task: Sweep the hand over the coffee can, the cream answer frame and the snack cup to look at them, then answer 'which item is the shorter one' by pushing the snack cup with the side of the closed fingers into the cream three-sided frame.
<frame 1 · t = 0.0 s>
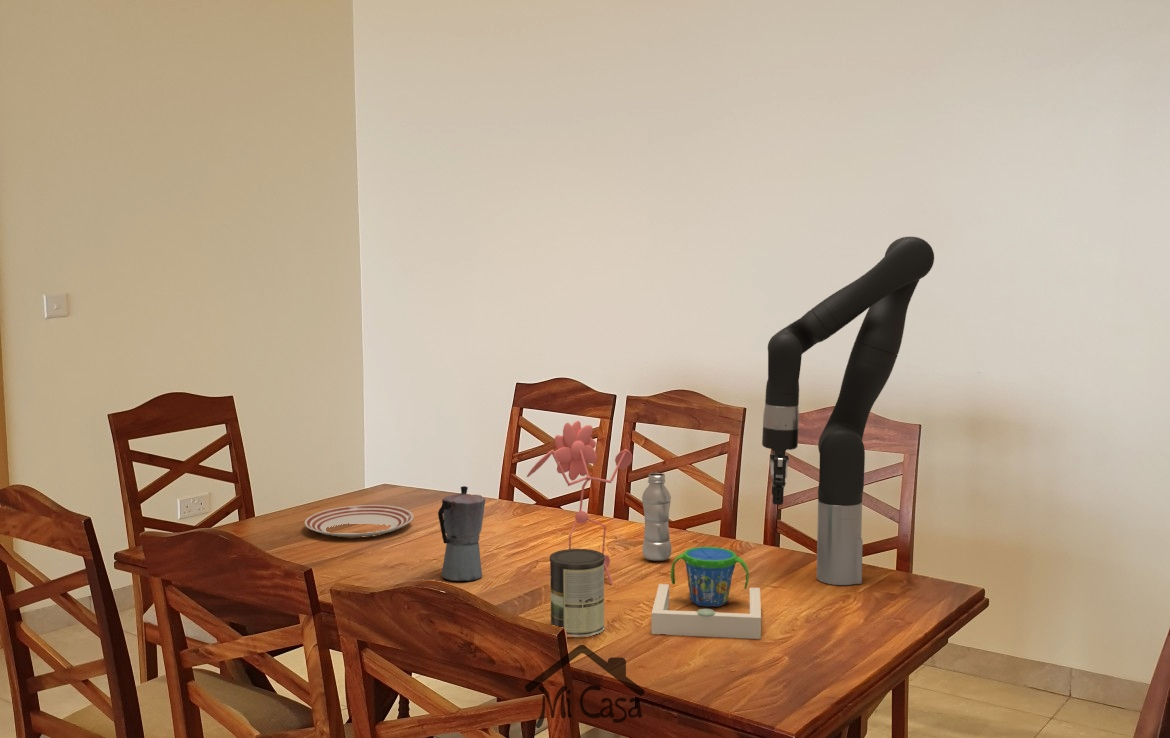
hand: (777, 499, 236), 17 cm above the table, tool pointing down, fingers open, 8 cm apart
answer frame: (707, 620, 210), on the table
moka pot: (462, 578, 239), on the table
figurine: (575, 582, 235), on the table
dinner plate: (359, 530, 281), on the table
coffee can: (577, 630, 206), on the table
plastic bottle: (656, 560, 251), on the table
snack cup: (709, 603, 221), on the table
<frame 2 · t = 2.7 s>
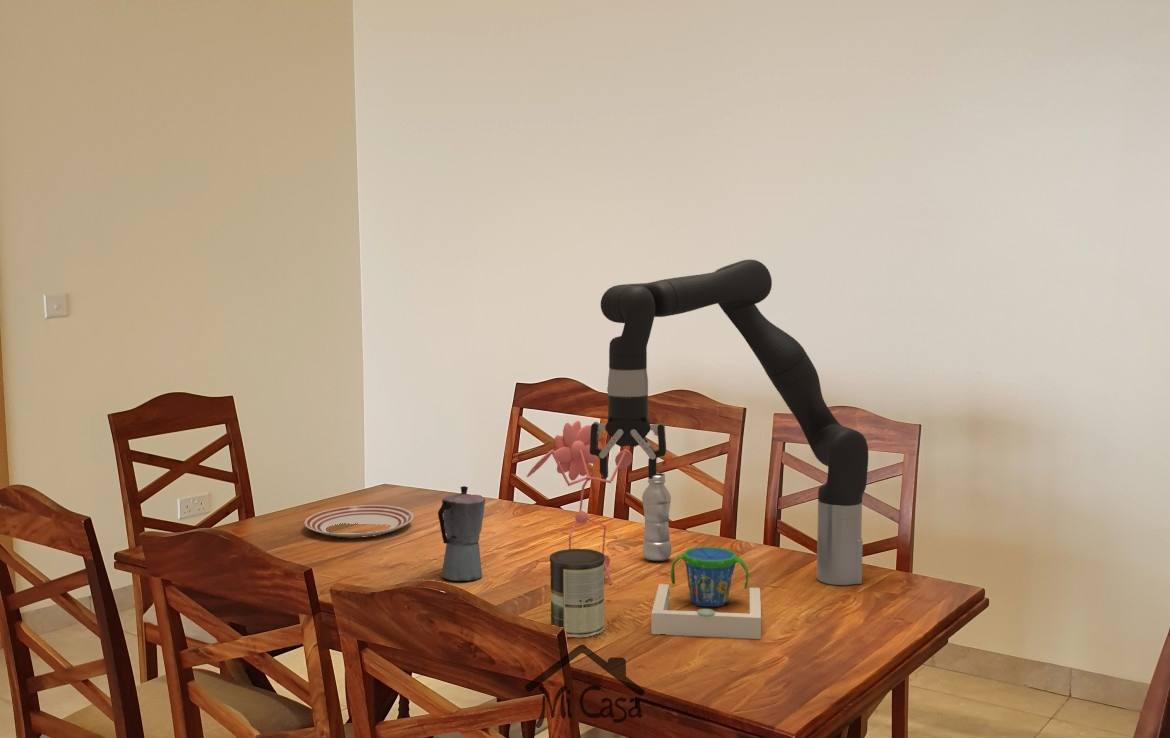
hand: (628, 477, 206), 28 cm above the table, tool pointing down, fingers open, 8 cm apart
nothing on the table moved.
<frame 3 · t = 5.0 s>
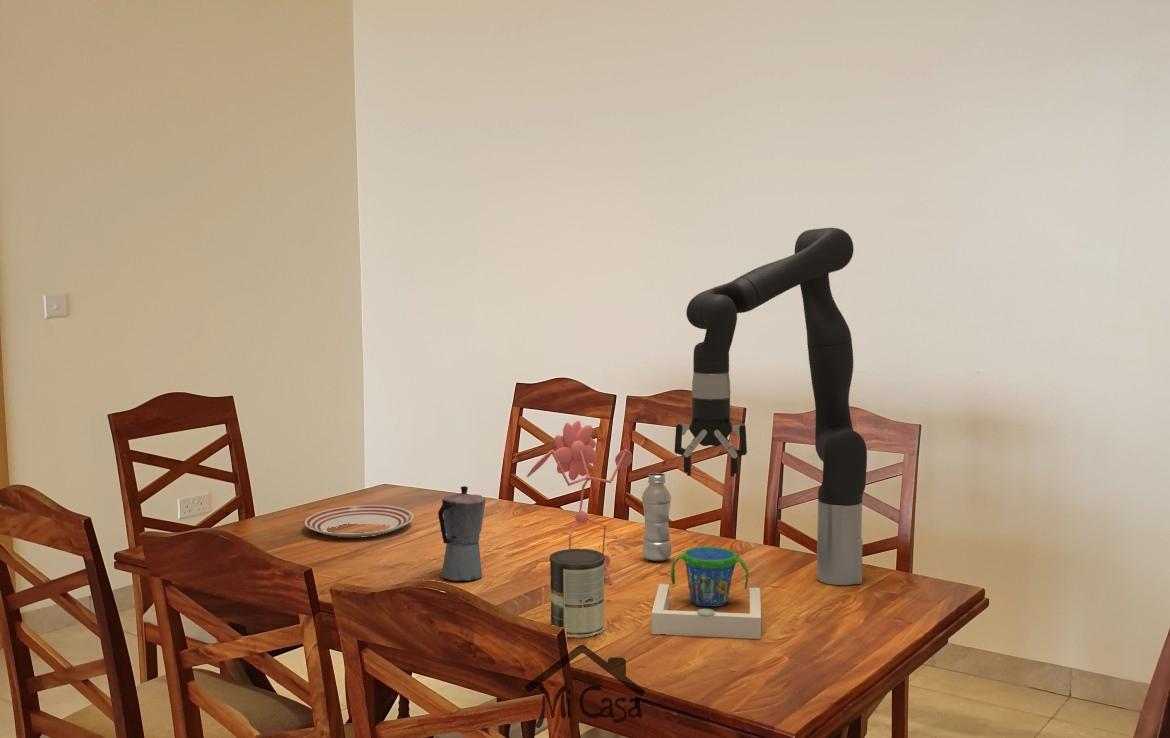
hand: (710, 475, 218), 26 cm above the table, tool pointing down, fingers open, 8 cm apart
nothing on the table moved.
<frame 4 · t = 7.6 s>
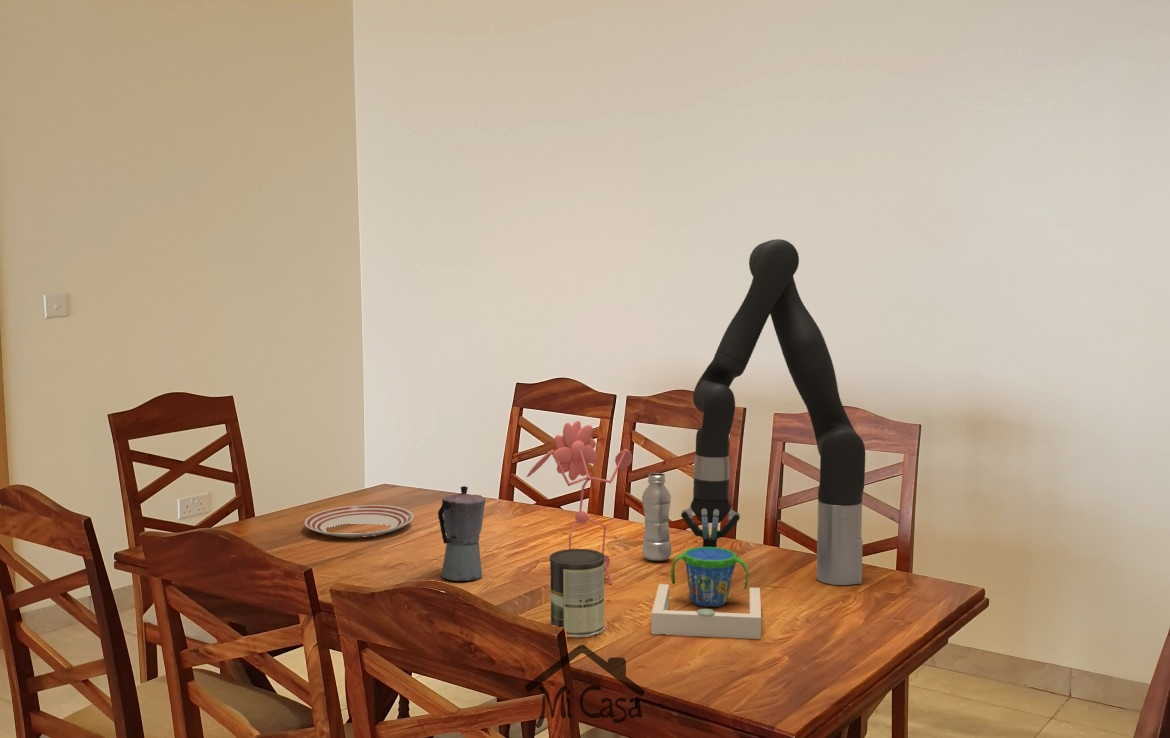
hand: (709, 555, 233), 6 cm above the table, tool pointing down, fingers closed
nothing on the table moved.
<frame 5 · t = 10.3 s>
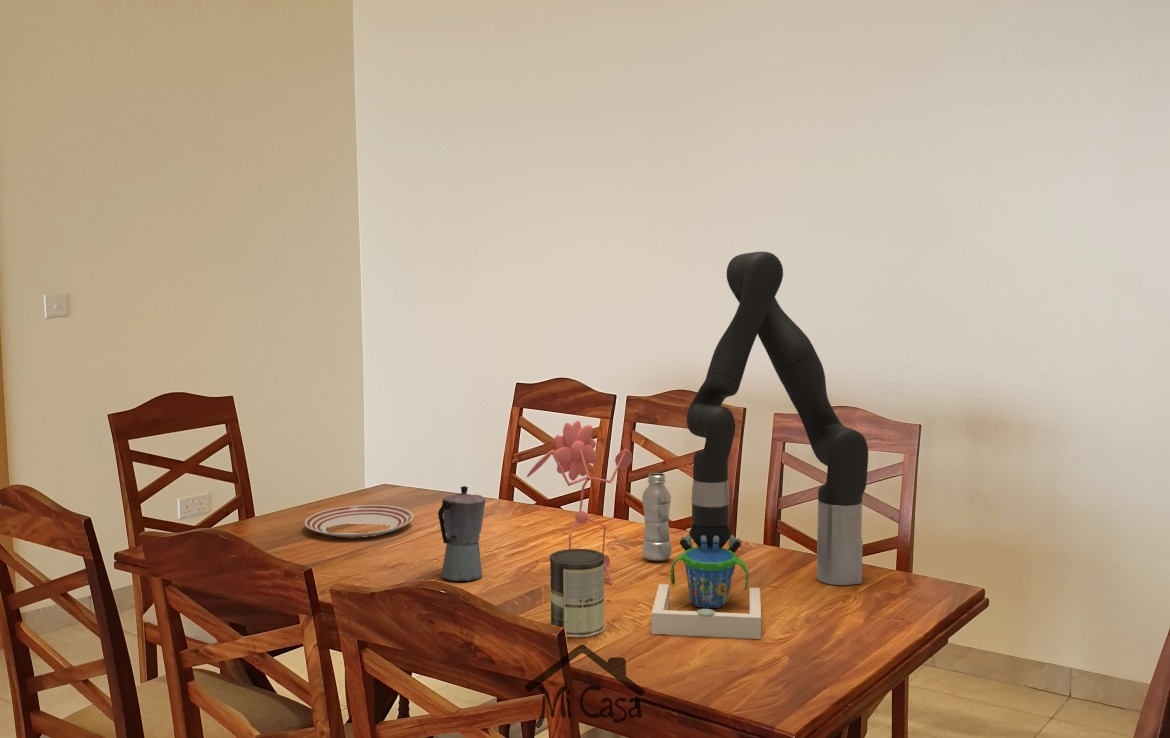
hand: (710, 583, 225), 3 cm above the table, tool pointing down, fingers closed
snack cup: (709, 603, 220), on the table, touching gripper
everything else where it was.
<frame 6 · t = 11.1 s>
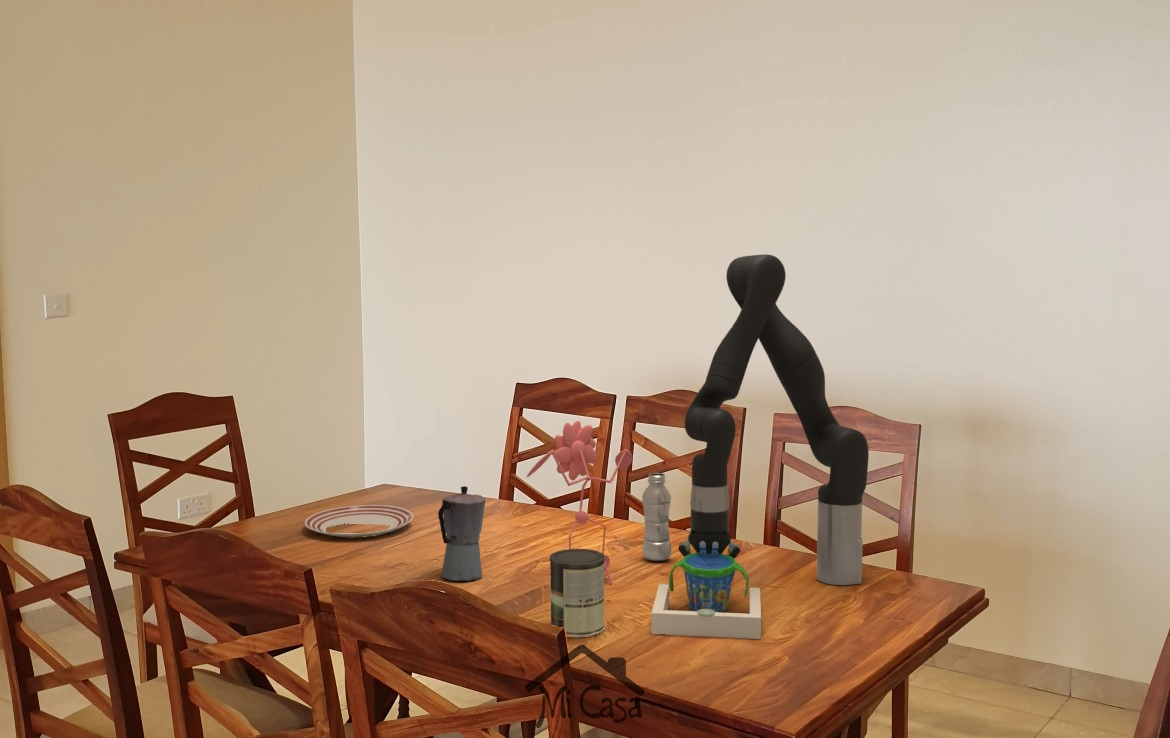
hand: (709, 590, 220), 3 cm above the table, tool pointing down, fingers closed
snack cup: (708, 610, 216), on the table, touching gripper
everything else where it was.
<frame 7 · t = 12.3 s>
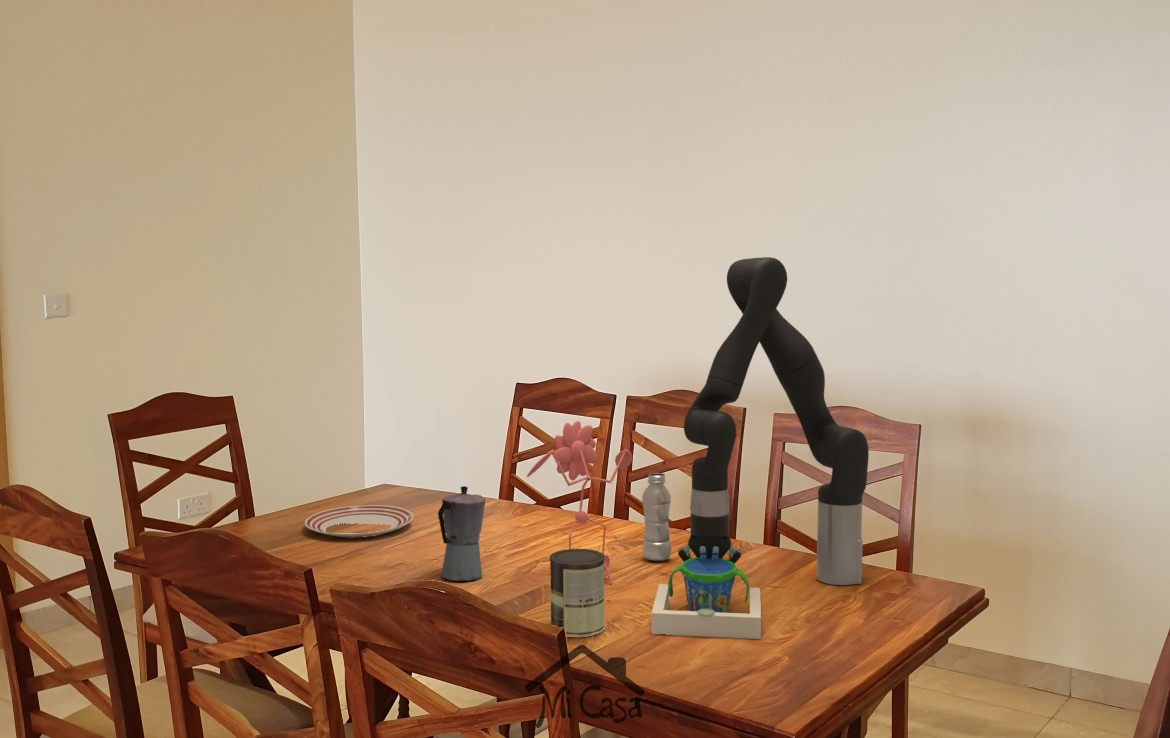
hand: (709, 595, 217), 2 cm above the table, tool pointing down, fingers closed
snack cup: (708, 616, 212), on the table, touching gripper
everything else where it was.
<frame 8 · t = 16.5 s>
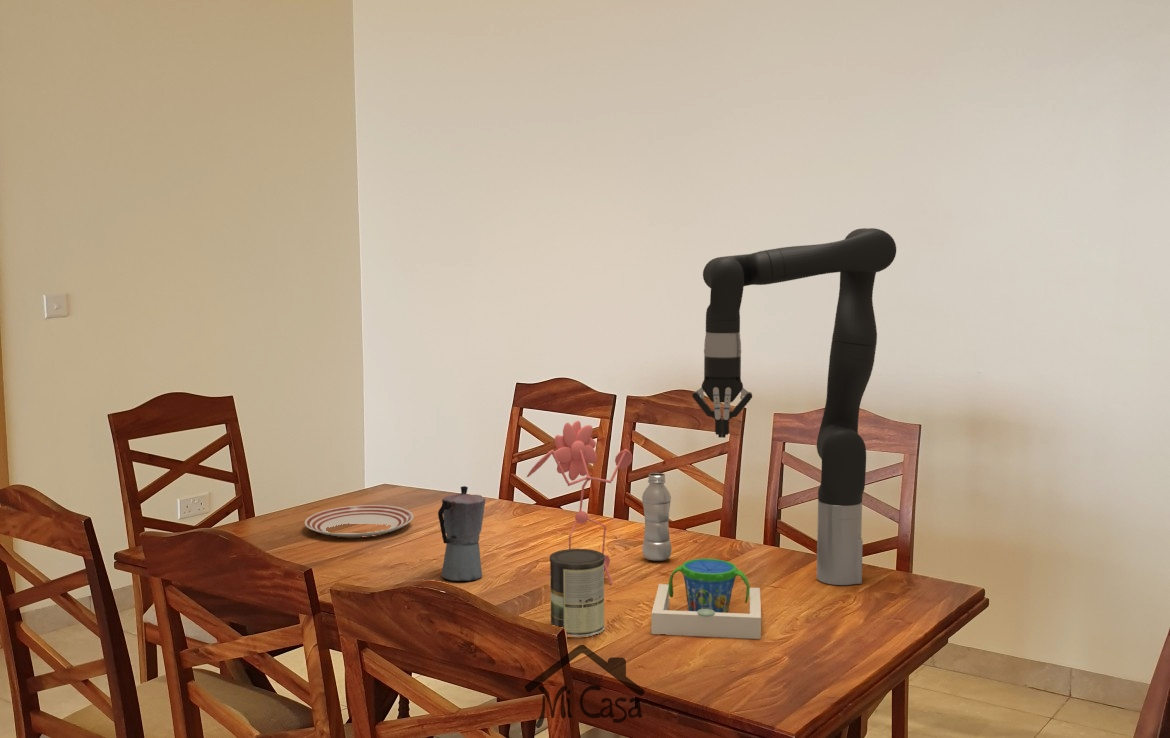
hand: (721, 436, 228), 32 cm above the table, tool pointing down, fingers closed
snack cup: (708, 617, 212), on the table
everything else where it was.
at the end: snack cup inside the target area on the answer frame (1.7 cm from its centre), point 0.0 cm above the answer frame's base; snack cup moved 8.8 cm from its start; snack cup tilted 0° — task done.
